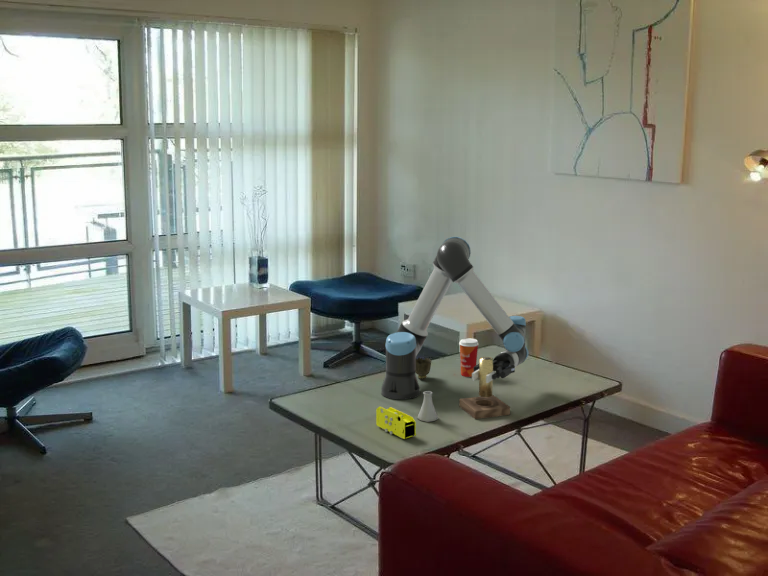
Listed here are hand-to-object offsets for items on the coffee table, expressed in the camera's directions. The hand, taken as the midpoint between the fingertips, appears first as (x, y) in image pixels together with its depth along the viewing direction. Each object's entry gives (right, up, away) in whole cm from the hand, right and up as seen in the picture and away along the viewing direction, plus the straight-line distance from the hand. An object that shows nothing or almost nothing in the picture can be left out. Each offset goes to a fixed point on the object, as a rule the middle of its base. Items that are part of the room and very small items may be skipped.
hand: (479, 378), depth 307 cm
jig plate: (+2, -13, +7) cm, 15 cm away
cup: (-19, -5, +45) cm, 49 cm away
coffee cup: (+1, -4, +49) cm, 49 cm away
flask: (-19, -15, -1) cm, 24 cm away
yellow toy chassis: (-31, -18, -13) cm, 38 cm away
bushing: (+3, -7, +6) cm, 10 cm away
